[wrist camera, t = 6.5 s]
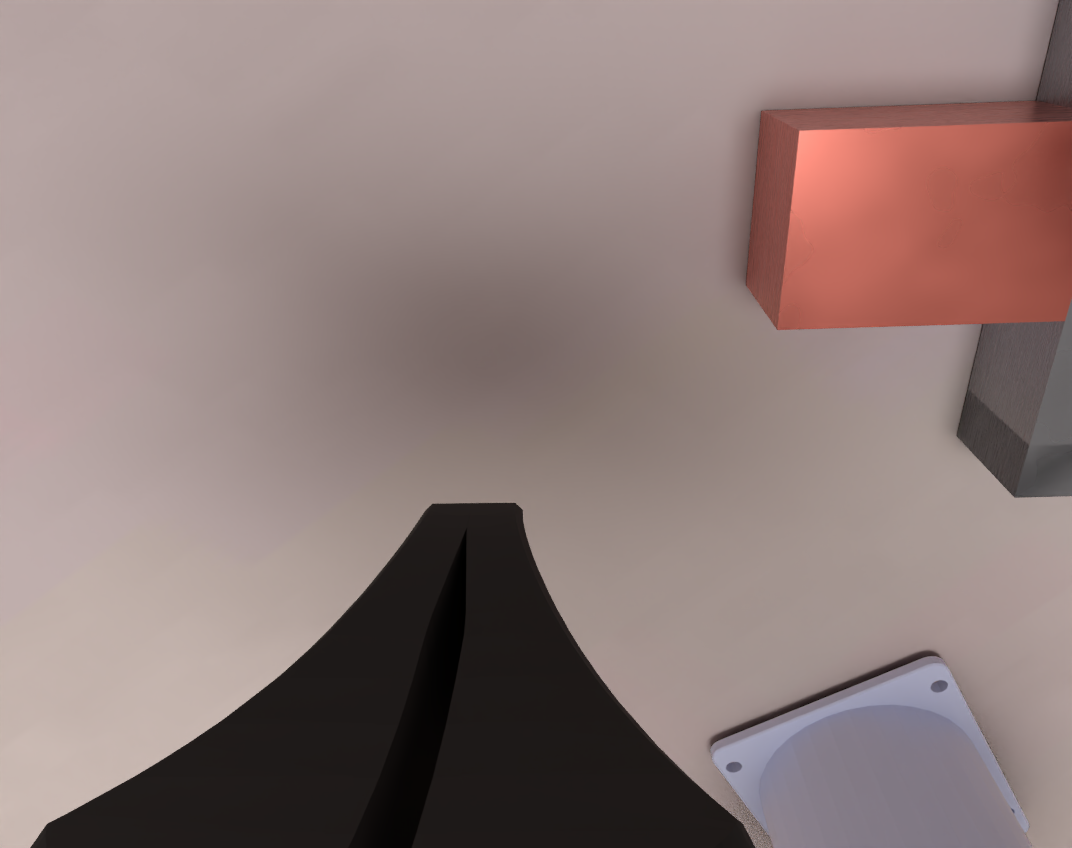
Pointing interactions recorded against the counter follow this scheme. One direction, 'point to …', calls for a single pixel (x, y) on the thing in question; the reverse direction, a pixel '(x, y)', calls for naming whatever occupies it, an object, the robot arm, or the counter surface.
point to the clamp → (938, 247)
